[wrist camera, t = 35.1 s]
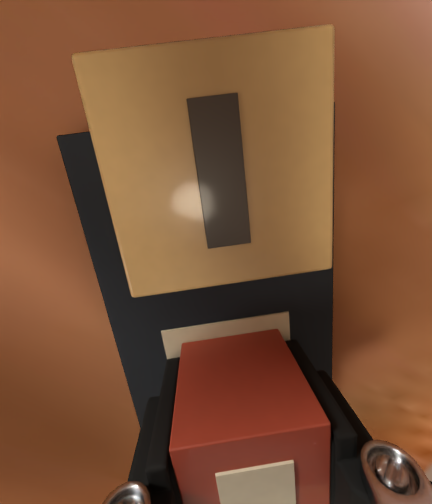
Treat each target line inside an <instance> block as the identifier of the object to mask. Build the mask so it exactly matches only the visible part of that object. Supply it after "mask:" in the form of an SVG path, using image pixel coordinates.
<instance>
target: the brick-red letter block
mask: <svg viewBox="0 0 432 504" xmlns="http://www.w3.org/2000/svg"><path fill="white" fill-rule="evenodd" d="M169 452H170V456H171V460H172V464H173V468H174V472H175V476H176V480H177V484H178V488H179V492H180V496H181V499H182V503H183V504H330V453H331V423H330V421H329V419H328V418H327V416H326V414H325V412H324V411H323V409H322V407H321V405H320V403H319V402H318V400H317V398H316V396H315V394H314V393H313V391H312V389H311V387H310V385H309V384H308V382H307V380H306V378H305V376H304V375H303V373H302V371H301V369H300V367H299V366H298V364H297V362H296V360H295V359H294V357H293V355H292V353H291V351H290V350H289V348H288V346H287V344H286V342H285V341H284V339H283V337H282V335H281V333H280V332H279V330H278V329H272V330H265V331H259V332H252V333H246V334H239V335H233V336H226V337H220V338H213V339H207V340H200V341H194V342H187V343H182V345H181V354H180V362H179V371H178V379H177V387H176V396H175V404H174V412H173V421H172V429H171V437H170V446H169Z"/></svg>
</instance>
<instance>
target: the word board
mask: <svg viewBox="0 0 432 504" xmlns="http://www.w3.org/2000/svg"><path fill="white" fill-rule="evenodd" d="M334 131H335V102H334ZM57 141H58V144H59V148H60V151H61V154H62V158H63V161H64V165H65V168H66V172H67V175H68V179H69V182H70V186H71V189H72V192H73V196H74V199H75V203H76V206H77V210H78V213H79V217H80V220H81V224H82V227H83V230H84V234H85V237H86V241H87V244H88V248H89V251H90V255H91V258H92V262H93V265H94V269H95V272H96V275H97V279H98V282H99V286H100V289H101V293H102V296H103V300H104V303H105V307H106V310H107V313H108V317H109V320H110V324H111V327H112V331H113V334H114V338H115V341H116V345H117V348H118V351H119V355H120V358H121V362H122V365H123V369H124V372H125V376H126V379H127V383H128V386H129V390H130V393H131V396H132V400H133V403H134V407H135V410H136V414H137V417H138V421H139V424H140V428H141V426H142V422H143V418H144V414H145V410H146V406H147V402H148V399H149V398H150V397H155V396H160V392H161V387H162V382H163V376H164V371H165V366H166V361H167V359H171V358H177V357H180V354H181V345H182V343H187V342H194V341H200V340H207V339H213V338H220V337H226V336H233V335H239V334H246V333H252V332H259V331H265V330H272V329H278V330H279V332H280V333H281V335H282V337H283V339H284V341H287V340H294V339H296V340H297V341H298V343H299V344H300V346H301V347H302V349H303V350H304V352H305V354H306V355H307V357H308V358H309V360H310V361H311V363H312V365H313V366H314V368H315V369H316V371H319V370H324V371H326V372H327V374H328V375H329V376H330V378H331V379H332V321H333V243H332V267H331V268H330V269H326V270H319V271H312V272H305V273H299V274H292V275H285V276H278V277H272V278H265V279H258V280H251V281H244V282H238V283H231V284H224V285H217V286H211V287H204V288H197V289H190V290H183V291H177V292H170V293H163V294H156V295H150V296H143V297H136V298H134V297H132V296H131V293H130V289H129V285H128V281H127V277H126V273H125V269H124V265H123V261H122V258H121V254H120V250H119V246H118V242H117V238H116V234H115V230H114V226H113V222H112V218H111V214H110V210H109V206H108V202H107V198H106V194H105V190H104V186H103V182H102V178H101V174H100V170H99V166H98V162H97V158H96V154H95V150H94V146H93V142H92V138H91V134H90V132H83V133H75V134H67V135H59V136H57ZM333 226H334V138H333Z"/></svg>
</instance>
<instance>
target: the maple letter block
mask: <svg viewBox="0 0 432 504" xmlns="http://www.w3.org/2000/svg"><path fill="white" fill-rule="evenodd" d="M334 34H335V29H334V26H333V25H331V24H328V25H319V26H310V27H301V28H292V29H283V30H274V31H265V32H256V33H248V34H239V35H230V36H221V37H212V38H203V39H194V40H185V41H177V42H168V43H159V44H150V45H141V46H132V47H123V48H114V49H106V50H97V51H88V52H79V53H74V54H72V63H73V67H74V71H75V75H76V79H77V83H78V87H79V91H80V95H81V99H82V103H83V107H84V111H85V115H86V119H87V122H88V126H89V130H90V134H91V138H92V142H93V146H94V150H95V154H96V158H97V162H98V166H99V170H100V174H101V178H102V182H103V186H104V190H105V194H106V198H107V202H108V206H109V210H110V214H111V218H112V222H113V226H114V230H115V234H116V238H117V242H118V246H119V250H120V254H121V258H122V261H123V265H124V269H125V273H126V277H127V281H128V285H129V289H130V293H131V296H132V297H134V298H136V297H143V296H150V295H156V294H163V293H170V292H177V291H183V290H190V289H197V288H204V287H211V286H217V285H224V284H231V283H238V282H244V281H251V280H258V279H265V278H272V277H278V276H285V275H292V274H299V273H305V272H312V271H319V270H326V269H330V268H331V267H332V243H333V138H334Z"/></svg>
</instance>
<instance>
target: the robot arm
mask: <svg viewBox="0 0 432 504" xmlns="http://www.w3.org/2000/svg"><path fill="white" fill-rule="evenodd" d="M285 342H286V344H287V346H288V348H289V350H290V351H291V353H292V355H293V357H294V359H295V360H296V362H297V364H298V366H299V367H300V369H301V371H302V373H303V375H304V376H305V378H306V380H307V382H308V384H309V385H310V387H311V389H312V391H313V393H314V394H315V396H316V398H317V400H318V402H319V403H320V405H321V407H322V409H323V411H324V412H325V414H326V416H327V418H328V419H329V421H330V423H331V453H330V504H432V482H431V481H429V480H428V478H427V477H426V475H425V473H424V472H423V470H422V469H421V467H420V466H419V465H418V464H417V462H416V461H415V460H414V459H413V458H412V457H411V456H410V455H409V454H408V453H407V452H405V451H404V450H402V449H401V448H399V447H398V446H396V445H394V444H392V443H389V442H387V441H382V440H373V439H372V437H371V436H370V434H369V433H368V431H367V430H366V428H365V427H364V426H363V424H362V423H361V421H360V420H359V418H358V417H357V415H356V414H355V412H354V411H353V410H352V408H351V407H350V405H349V404H348V402H347V401H346V399H345V398H344V397H343V395H342V394H341V392H340V391H339V389H338V388H337V386H336V385H335V383H334V382H333V381H332V379H331V378H330V376H329V375H328V374H327V372H326V371H324V370H319V371H316V369H315V368H314V366H313V365H312V363H311V361H310V360H309V358H308V357H307V355H306V354H305V352H304V350H303V349H302V347H301V346H300V344H299V343H298V341H297V340H296V339H294V340H287V341H285ZM179 362H180V357H177V358H171V359H167V361H166V366H165V371H164V376H163V382H162V387H161V392H160V396H155V397H150V398H149V399H148V402H147V406H146V410H145V414H144V418H143V422H142V426H141V430H140V434H139V438H138V442H137V446H136V450H135V454H134V458H133V462H132V466H131V470H130V474H129V478H128V482H125V483H123V484H121V485H120V486H118V487H117V488H115V489H114V490H113V491H112V492H111V493H110V494H109V495H108V496H107V498H106V499H105V500H104V502H103V503H102V504H183V503H182V499H181V496H180V492H179V488H178V484H177V480H176V476H175V472H174V468H173V464H172V460H171V456H170V452H169V446H170V437H171V429H172V421H173V412H174V404H175V396H176V387H177V379H178V371H179Z"/></svg>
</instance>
